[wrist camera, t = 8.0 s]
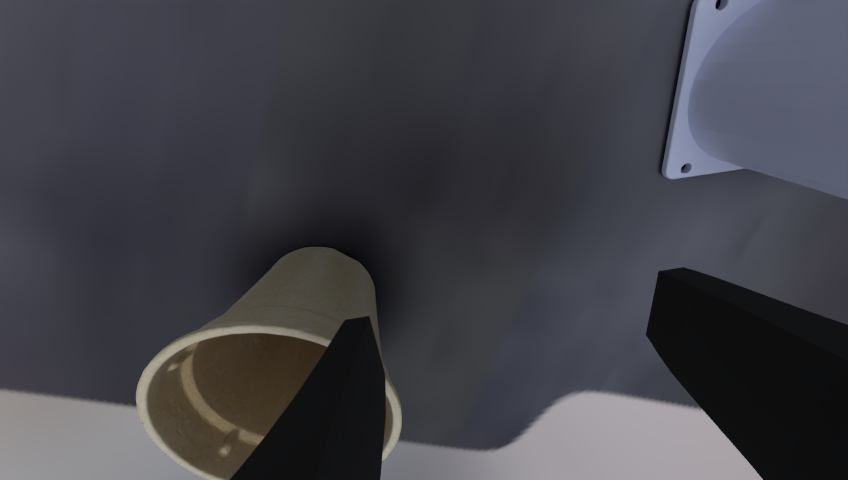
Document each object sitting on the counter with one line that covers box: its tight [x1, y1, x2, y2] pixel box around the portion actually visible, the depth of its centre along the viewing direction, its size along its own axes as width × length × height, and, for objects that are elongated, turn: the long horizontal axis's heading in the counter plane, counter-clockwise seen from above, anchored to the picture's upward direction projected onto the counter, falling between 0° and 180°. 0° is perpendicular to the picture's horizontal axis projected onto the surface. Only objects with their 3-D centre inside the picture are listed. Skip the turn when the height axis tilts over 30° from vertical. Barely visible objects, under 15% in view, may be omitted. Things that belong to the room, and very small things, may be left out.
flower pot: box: [136, 247, 402, 480], centre depth 17 cm, size 9×9×9 cm
